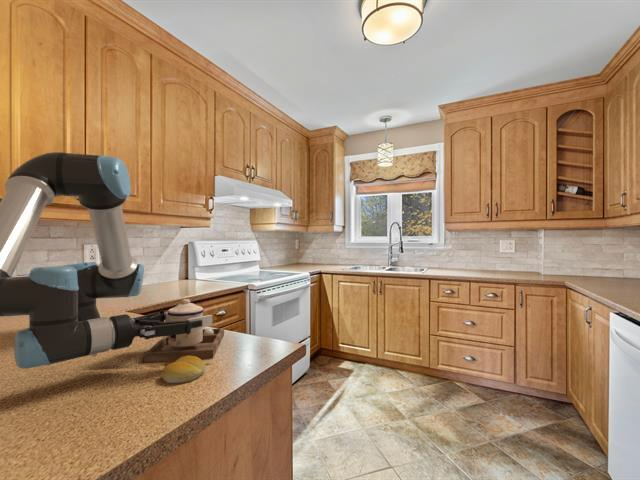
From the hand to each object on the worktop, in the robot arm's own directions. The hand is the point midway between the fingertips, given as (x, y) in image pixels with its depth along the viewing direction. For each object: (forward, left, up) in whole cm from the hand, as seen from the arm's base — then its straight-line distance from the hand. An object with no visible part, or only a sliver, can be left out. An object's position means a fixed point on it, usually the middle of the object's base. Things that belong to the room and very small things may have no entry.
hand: (199, 316), depth 89 cm
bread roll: (+17, 0, -10) cm, 19 cm away
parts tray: (-1, -3, -9) cm, 10 cm away
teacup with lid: (+3, -3, -7) cm, 8 cm away
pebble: (-8, +1, -8) cm, 12 cm away
